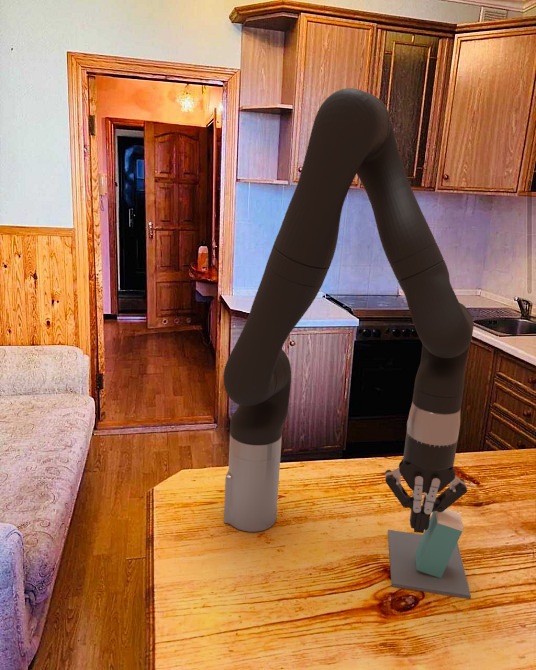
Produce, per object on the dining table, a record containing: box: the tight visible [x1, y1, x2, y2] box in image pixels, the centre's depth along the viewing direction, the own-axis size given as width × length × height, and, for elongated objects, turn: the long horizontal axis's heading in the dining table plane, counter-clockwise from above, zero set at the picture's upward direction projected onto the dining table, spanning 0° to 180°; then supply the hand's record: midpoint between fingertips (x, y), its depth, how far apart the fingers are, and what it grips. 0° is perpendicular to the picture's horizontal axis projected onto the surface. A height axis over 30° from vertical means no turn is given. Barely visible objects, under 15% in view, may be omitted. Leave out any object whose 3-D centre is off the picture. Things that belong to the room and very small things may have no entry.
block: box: [415, 508, 464, 578], centre depth 91 cm, size 4×4×10 cm
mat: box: [387, 529, 471, 600], centre depth 95 cm, size 12×14×1 cm
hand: (418, 529), depth 91 cm, fingers closed
